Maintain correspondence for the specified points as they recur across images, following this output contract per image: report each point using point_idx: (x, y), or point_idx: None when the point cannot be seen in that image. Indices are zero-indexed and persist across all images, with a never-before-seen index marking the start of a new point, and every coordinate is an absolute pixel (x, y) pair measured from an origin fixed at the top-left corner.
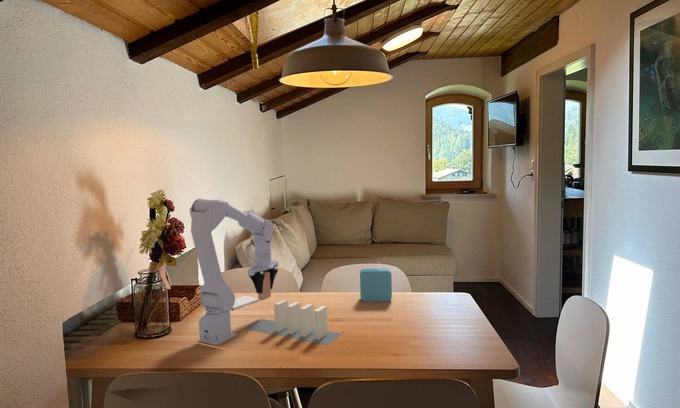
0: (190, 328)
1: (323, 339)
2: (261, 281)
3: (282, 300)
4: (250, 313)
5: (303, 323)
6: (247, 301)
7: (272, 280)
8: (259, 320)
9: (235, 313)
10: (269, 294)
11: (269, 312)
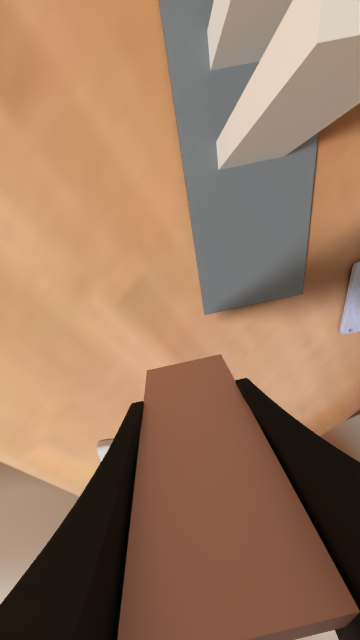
0: (336, 396)
1: None
2: (345, 464)
3: (345, 27)
4: None
5: None
6: None
7: (120, 469)
8: (221, 310)
9: None
10: (157, 378)
11: (138, 352)
